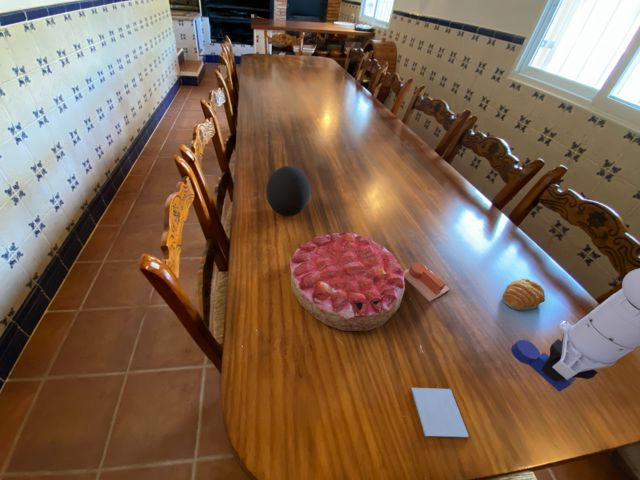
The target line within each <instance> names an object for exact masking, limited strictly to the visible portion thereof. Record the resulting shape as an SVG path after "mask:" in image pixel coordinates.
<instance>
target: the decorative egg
mask: <svg viewBox="0 0 640 480" xmlns="http://www.w3.org/2000/svg"><path fill="white" fill-rule="evenodd" d="M311 190H312V189H311V183H310V180H309V178H308V176H307V175H306V173H305V172H304V171H303V170H301V169H300V168H299V167H296V166H295V165H294V166H292V165H285V166H282V167H279V168H277V169H276V170H275V171H274V172H273V173H272V174H271V175H270V176H269V180H268V181H267V185H266V192H265V193H266V199H267V202H268V204H269V206H270V208H271V209H272V210H273V211H274V212H275V213H276V214H278V215H280V216H283V217H293V216H297V215H299V214H300V213H302V212H303V211H304V210H305V208H306V207H307V206H308V204H309V202H310V199H311V194H312V193H311V192H312V191H311Z"/></svg>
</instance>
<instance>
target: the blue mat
mask: <svg viewBox="0 0 640 480" xmlns="http://www.w3.org/2000/svg"><path fill="white" fill-rule="evenodd" d="M410 389H411V393H412V397H413V400H414V404H415V406H416V411H417V415H418V417H419V421H420V423H421V424H420V425H421V428H422V430H423V434H424V437H427V438H431V437H432V438H462V439H463V438H465V439H467V438H470V436H469V433H468V430H467V427H466V426H465V422H464V419H463V417H462V414H461V412H460V410H459V407H458V404H457V402H456V399H455V396H454V394H453V392H452V389H451V388H435V387H434V388H433V387H432V388H429V387H411V388H410Z"/></svg>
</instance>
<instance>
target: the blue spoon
mask: <svg viewBox="0 0 640 480" xmlns="http://www.w3.org/2000/svg"><path fill="white" fill-rule="evenodd" d="M510 351H511V354H512V355H513V357H514V358H515V359H516V360H517V361H519V362H520V363H522V364H525V365H528V366H530V367H531V368H532V369H533V371H535V372H536V373H537V374H538V375H539V376H541V377H542V378H543V379H544V380H545V381H546V382H548V383H549V384H550V385H551V386H552V387H553V388H555V390H557V391H558V392H559V393H560V392H561V391H563V390H565V389H566V388H568V387H570V386H571V385H572V384H573V383H574V382H575V381H576V380H577V378H570V379H568V380H567V379H563V380H558V381H553V380H552V379H551V378H549V377H548V376H547V375H546V374H545V373H544V372H543V371H542V367H543V366H544V364H545V363H546V361H547V360H548V358H549V356H550V355H548V354H547V353H546V352H544V351H543V352H542V353H541V352H540V350H539V348H538V347H537V346H536V345H535V344H534V343H533V342H531V341H529V340H527V339H518V340H517V341H516V342H515V343H514V344H513V345H511V347H510Z"/></svg>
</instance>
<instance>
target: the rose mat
mask: <svg viewBox="0 0 640 480" xmlns="http://www.w3.org/2000/svg"><path fill="white" fill-rule="evenodd" d="M409 269H410V267H409V268H407V269H405V270H404V280H406V281H407V283H408V284H410V285H411V286H412V287H413V288H414V289H415V290H416V291H417V292H418V293H419V294H420V295H421V296H422V297H423V298H424V299H425V300H427V301H428V303H431V302H433V301H434V300H436V299H437V298H439V297H441V296H442V295H444V294H446V293H447V292H449V291H450V288H449V287H448V286H446V285H445V286H444V288H443V289H442V291H441V292H440V293H438V294H437V295H435V294H434V293H433V292H432V291H431V290H430V289H429V288H428V287H427V286H426V285H425V284H424V283H422V282H421V281H420V280H419V279H416V278H414V277H412V276H411V275H410V274H409Z"/></svg>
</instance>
